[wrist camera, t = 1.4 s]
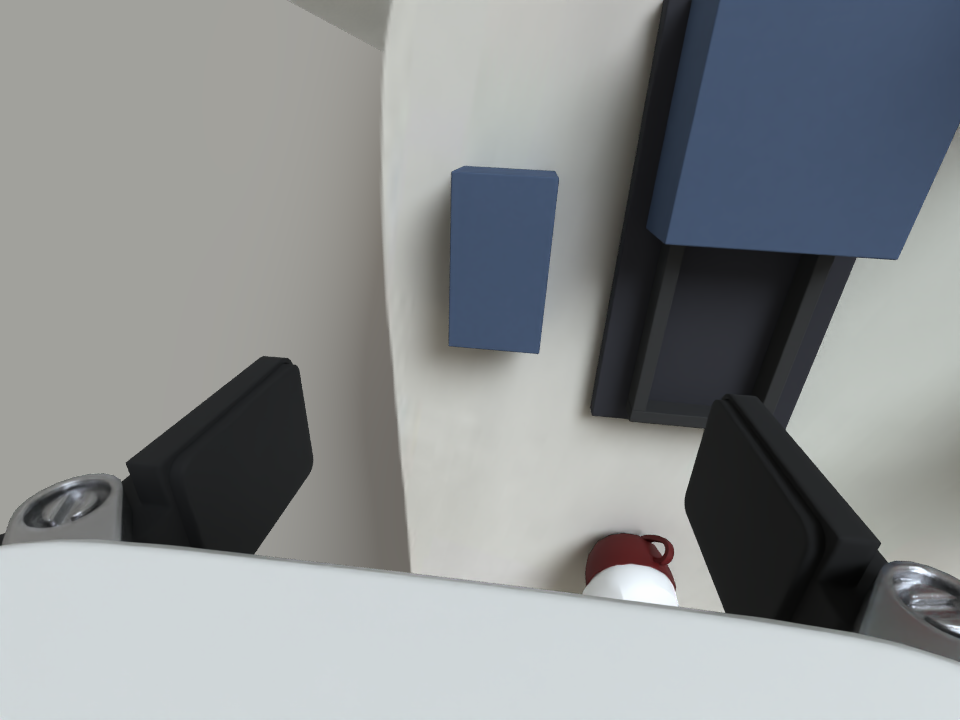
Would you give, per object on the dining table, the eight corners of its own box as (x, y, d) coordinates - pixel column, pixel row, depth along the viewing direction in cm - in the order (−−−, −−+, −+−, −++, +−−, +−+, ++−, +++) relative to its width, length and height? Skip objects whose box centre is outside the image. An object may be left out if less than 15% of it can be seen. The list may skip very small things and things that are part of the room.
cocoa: (652, 502, 34) (708, 674, 23) (691, 555, 36) (759, 737, 25) (543, 548, 37) (547, 718, 26) (584, 595, 39) (603, 771, 28)
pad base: (589, 407, 31) (599, 454, 26) (663, -2, 21) (698, -38, 16) (776, 425, 30) (819, 476, 25) (944, 6, 20) (1062, -30, 16)
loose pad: (458, 320, 29) (448, 346, 25) (463, 165, 25) (451, 171, 21) (538, 326, 29) (539, 354, 25) (555, 171, 25) (559, 177, 21)
